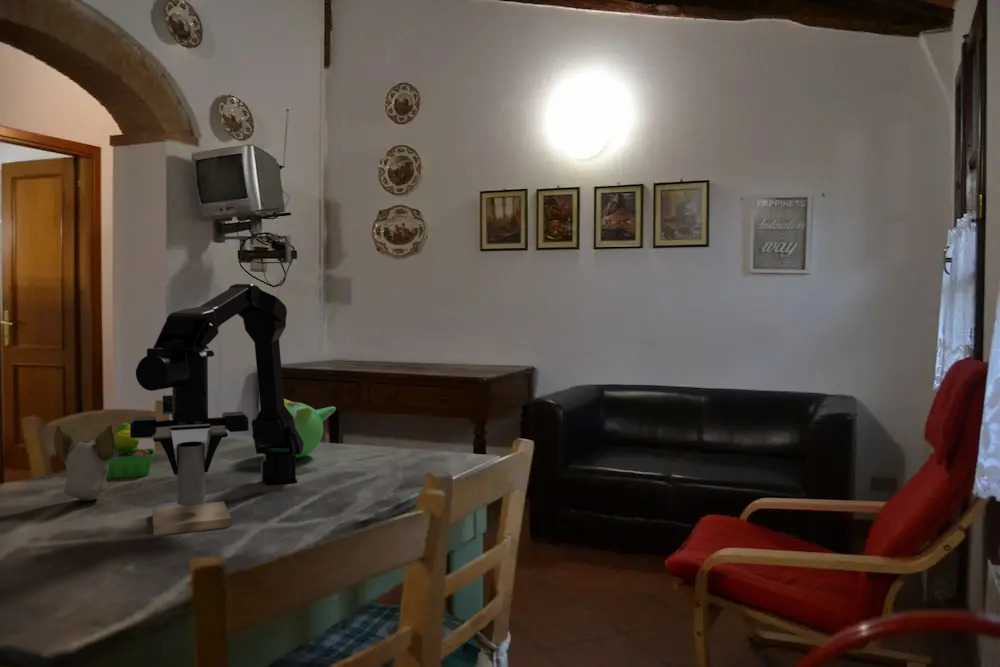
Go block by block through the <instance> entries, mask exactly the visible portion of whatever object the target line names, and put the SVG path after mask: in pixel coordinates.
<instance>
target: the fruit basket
mask: <svg viewBox="0 0 1000 667" xmlns="http://www.w3.org/2000/svg"><path fill="white" fill-rule="evenodd" d="M130 424H131V423H127V422H124V423H121V424H119V425H118V427H117V429H116V432H115V433H114V434H113V436H114V440H115V445H116V447H115V454H114V455H113V457H112V458H111V459H110V460H109V467H108V473H107V477H106V479H114V478H115V479H116V478H131V477H146V476H147V477H148V476H149V475H150V471H151V467H152V466H151V465H152V463H153V459H154V457H155V451H156V449H155V448H139V447H138V445H139V441H140V438H131V437H130Z"/></svg>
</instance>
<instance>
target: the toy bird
mask: <svg viewBox="0 0 1000 667" xmlns="http://www.w3.org/2000/svg"><path fill="white" fill-rule="evenodd" d="M284 404H285V407H286V408H287V410H288V411H289V412H290V414H291V415H292V416H293V418H294V424H295V429H296V430H297V432H298V434H299V435H300V437H301V439H302V440H303V442H304V444H303V451H302V452H301V454H299V455H296V459H300V458H302V457H305V456H307V455H309V454H311V453H312V452H314V450H315V449H316V448H317V447H318V446H319V445H320V443H321V440H322V438H323V435H324V421H326V420H327V419H328V418H329V417H330V416H331V415H333V414H334V412H336V409H337V408H336V407H335V406H328V407H324V408H317V409H315V408H313V407H312V406H310V405H307V404H305V403H302V402H300V401H291V400H288V399H286V398H284Z"/></svg>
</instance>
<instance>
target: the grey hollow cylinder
mask: <svg viewBox="0 0 1000 667" xmlns="http://www.w3.org/2000/svg"><path fill="white" fill-rule="evenodd" d="M205 447H206V445H205V442H203V441H185V442H184V441H183V442H180V443H177V444H176V465H177V475H176V504H177V505H178V506H181V505H185V506H188V505H197V504H202V503H204V502H206V473H205V455H206V448H205Z"/></svg>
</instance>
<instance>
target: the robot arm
mask: <svg viewBox="0 0 1000 667" xmlns="http://www.w3.org/2000/svg"><path fill="white" fill-rule="evenodd" d="M236 315H238V316H239V317H240V318H242V321H243V326H244V330H245V331H246V333H247V334H248V336H249V337H250V338H251V340H252V341H253V343H254V353H255V363H256V373H257V374H256V375H257V385H258V396H259V405H260V406H259V407H260V410H259V412H258V413H257V415H256V417H255V419H252V421H251V428H252V439H253V443H254V447H255V453H256V454H257V455H260V454H261V455H263V459H261V460H260V479H261V480H262V482H263V483H264V484H265V485H266V486H275V485H276V486H277V485H286V484H297V483H298V479H297V475H296V474H297V472H296V471H297V470H296V467H297V466H296V464H297V462H296V459H297V458H296V455H299V454H301V452H302V451H303V444H304V442H303V440H302V439H301V437H300V435H299V434H298V432H297V430H296V429H295V424H294V418H293V416H292V415H291V414H290V412H289V411H288V410H287V408H286V407H285V404H284V399H285V397H284V396H285V395H284V393H285V392H284V383H283V381H284V380H283V371H282V361H281V360H282V357H281V350H280V349H281V347H280V338H281V336H282V335H283V333H284V331H285V329H286V326H287V315H288V311H287V306H286V305H285V303H284V302H282V300H281V299H279V298H278V297H277V296H276V295H273V294H271V293H269V292H266V291H264V290H262V289H261V288H260V287H259V286H258V285H256V284H253V283H234V284H232V285H230V286H229V288H228V289H226V290H225V291H223V292H221V293H219V294H218V295H216V296H215V297H213V298H211V299H210V300H208V301H207V302H205V303H203V304H201V305H200V306H196V307H192V308H191V307H190V308H184V309H180V310H177V311H173V312H171V313H170V314H169V315H168V316H167V317H166V321H165V322H164V324H163V326H162V328H161V330H160V332H159V335H158V337H157V339H156V341H155V343H154V346H153V347H150V348H147V349H146V355H145V356H144V357H143V358H141V360H140V361H139V362H138V364H137V367H136V369H135V378H136V380H137V382H138V384H139V385H140V386H141V387H142V388H143V389H144V390H146V391H151V392H153V391H159V390H160V391H161V390H165V389H171V388H172V390H171V391H172V395H169V394H168V395H162V415H165V416H166V415H167V416H168V415H171V419H166V420H165V419H164V420H163V419H162V420H161V419H160V420H157V416H156V415H151V416H150V415H149V416H134V417H132V419H131V420H130V423H129V424H130V437H131V438H139V439H140V438H141V439H142V438H143V439H144V438H152V440H153V442H154V443H156V442H157V443H158V442H159V443H160V444H161V446H162V448H163V450H164V452H165V454H166V456H167V458H168V461H169V464H170V467H171V470H172V472H173V475H174V476H177V457H176V453H175V447H174V442H173V441H174V440H173V435H172V431H186V430H187V431H188V430H204V429H206V430H207V439H206V445H205V447H206V448H205V474H208V472H209V470H210V467H211V463H212V461H213V457H214V455H215V452H216V450H217V449H218V446H219V444H220V443H221V441H222V439H223V438H228V437H229V433H228V432H230V433H236V432H237V433H238V432H247V431H249V430H250V429H249V422H250V420H249V417H248V416H247V414H245V413H244V412H243V411H226V412H225V411H224V412H222V415H221V416H217V417H209V369H208V368H209V365H208V363H209V362H208V361H209V360H208V358H211V357H214V356H215V352H214V351H213V350H212V349H211V348H209V346H208V345H209V344H211V342H212V341H213V340H214V339H215V338H216V337H217V335H218V334H219V327H220V326H221V325H224V323H226V322H227V321H229V320H230V319H232V318H233V317H235V316H236ZM227 431H228V432H227Z"/></svg>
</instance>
